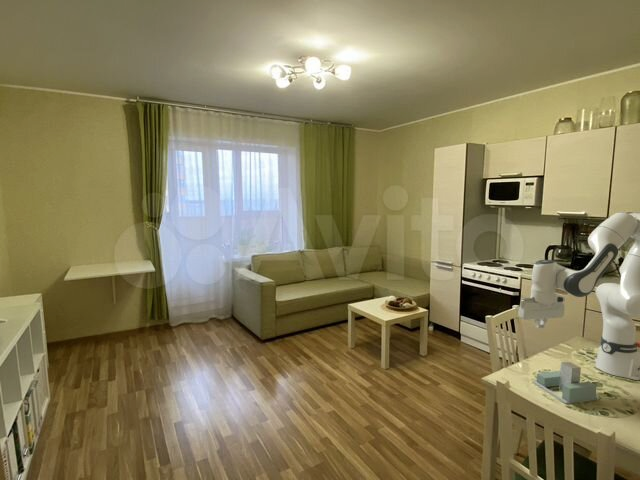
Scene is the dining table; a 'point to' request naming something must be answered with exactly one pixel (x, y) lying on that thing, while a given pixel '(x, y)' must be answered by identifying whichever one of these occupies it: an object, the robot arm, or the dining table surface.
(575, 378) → the steel block
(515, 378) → the dining table surface
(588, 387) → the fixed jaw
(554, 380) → the block
